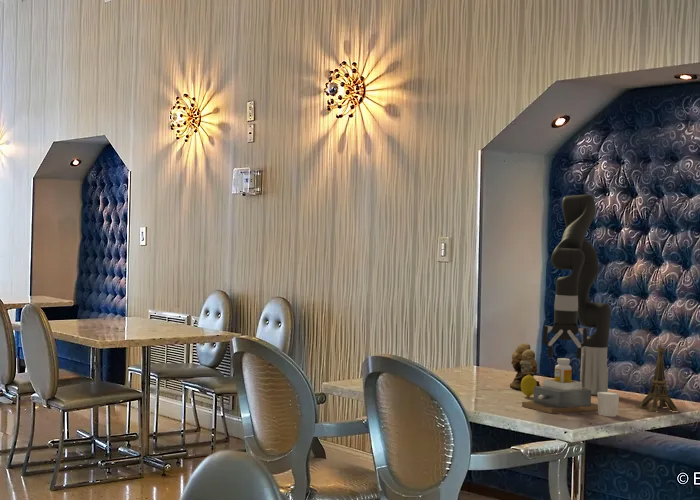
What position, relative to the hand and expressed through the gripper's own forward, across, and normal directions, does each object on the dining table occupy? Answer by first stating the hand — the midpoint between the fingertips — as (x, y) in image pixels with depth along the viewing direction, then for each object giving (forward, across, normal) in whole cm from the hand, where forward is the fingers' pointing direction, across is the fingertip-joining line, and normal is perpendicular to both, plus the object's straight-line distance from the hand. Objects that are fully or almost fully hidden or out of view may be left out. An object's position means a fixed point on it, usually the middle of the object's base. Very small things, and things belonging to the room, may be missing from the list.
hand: (564, 358), depth 324 cm
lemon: (+17, +12, -19) cm, 28 cm away
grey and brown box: (+16, 0, 0) cm, 16 cm away
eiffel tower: (+17, -31, -12) cm, 37 cm away
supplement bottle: (+10, 0, 0) cm, 10 cm away
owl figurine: (+17, +14, -41) cm, 47 cm away
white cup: (+17, -14, +6) cm, 23 cm away
